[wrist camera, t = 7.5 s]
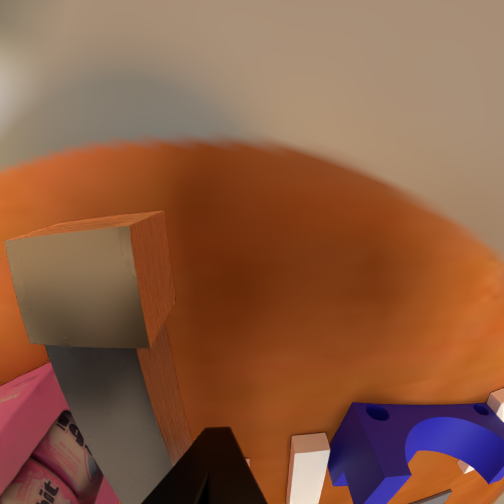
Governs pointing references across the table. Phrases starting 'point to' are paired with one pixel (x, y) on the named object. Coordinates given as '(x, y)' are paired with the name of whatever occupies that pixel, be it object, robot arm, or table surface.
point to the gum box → (45, 447)
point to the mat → (435, 498)
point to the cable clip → (410, 444)
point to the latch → (108, 339)
